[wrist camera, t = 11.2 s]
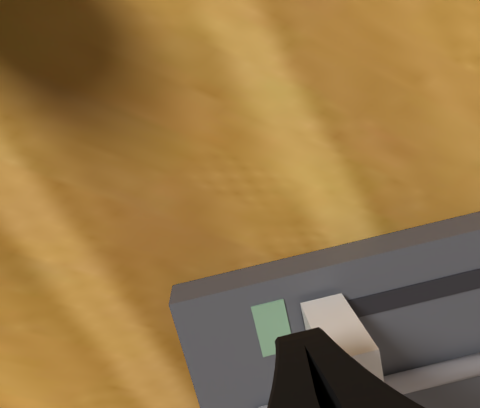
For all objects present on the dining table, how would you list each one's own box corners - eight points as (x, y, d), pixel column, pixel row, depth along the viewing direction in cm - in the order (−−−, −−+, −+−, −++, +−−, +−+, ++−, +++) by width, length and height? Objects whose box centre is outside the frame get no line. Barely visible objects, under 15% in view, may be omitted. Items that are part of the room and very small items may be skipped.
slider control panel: (546, 195, 21) (599, 211, 18) (551, 411, 25) (596, 452, 22) (172, 285, 21) (166, 315, 18) (233, 489, 25) (237, 541, 22)
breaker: (341, 293, 19) (379, 349, 15) (349, 336, 20) (387, 402, 15) (300, 302, 19) (325, 362, 15) (309, 346, 20) (336, 415, 15)
